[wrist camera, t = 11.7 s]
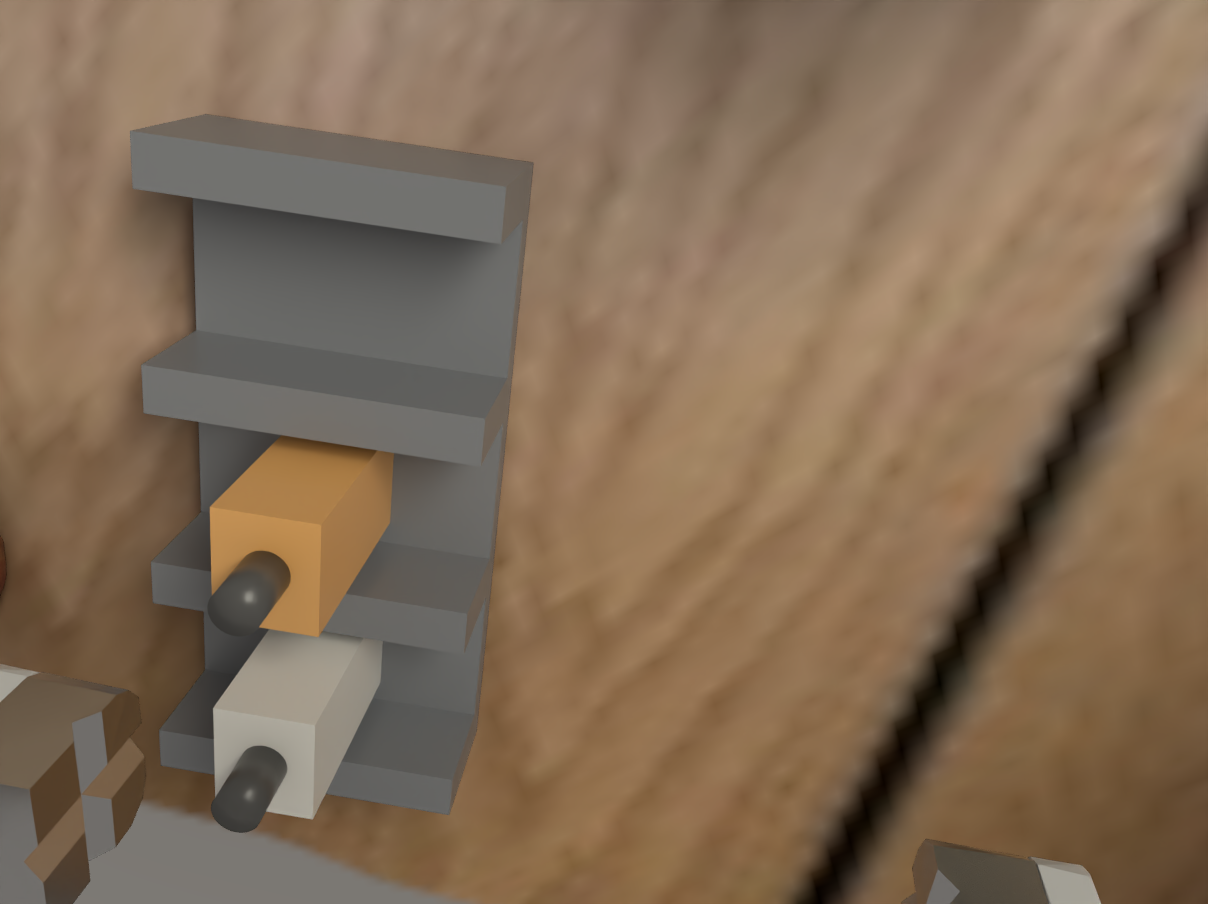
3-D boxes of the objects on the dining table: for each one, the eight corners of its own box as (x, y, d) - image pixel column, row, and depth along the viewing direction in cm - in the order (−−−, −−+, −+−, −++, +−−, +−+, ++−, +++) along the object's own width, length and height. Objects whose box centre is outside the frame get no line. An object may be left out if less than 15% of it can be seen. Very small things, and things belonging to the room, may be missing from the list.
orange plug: (395, 426, 34) (293, 561, 26) (390, 522, 36) (291, 679, 27) (304, 412, 34) (174, 542, 26) (302, 508, 36) (178, 660, 27)
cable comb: (533, 162, 31) (505, 186, 27) (476, 730, 40) (449, 814, 36) (205, 114, 32) (130, 130, 28) (217, 687, 40) (161, 765, 36)
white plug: (384, 599, 37) (289, 771, 28) (380, 682, 38) (288, 869, 30) (300, 585, 37) (181, 753, 29) (299, 668, 38) (184, 851, 30)
